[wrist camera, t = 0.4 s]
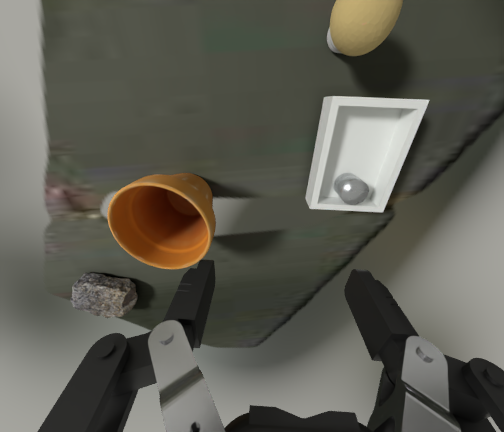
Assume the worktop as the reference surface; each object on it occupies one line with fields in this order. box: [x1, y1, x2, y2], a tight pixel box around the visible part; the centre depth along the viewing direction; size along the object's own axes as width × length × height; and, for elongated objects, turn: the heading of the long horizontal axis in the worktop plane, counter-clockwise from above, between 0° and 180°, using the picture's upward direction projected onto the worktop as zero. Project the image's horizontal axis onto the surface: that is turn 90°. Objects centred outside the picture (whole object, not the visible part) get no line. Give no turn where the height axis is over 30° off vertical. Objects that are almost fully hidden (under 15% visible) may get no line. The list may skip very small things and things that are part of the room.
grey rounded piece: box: [333, 173, 369, 205], centre depth 32 cm, size 4×4×4 cm
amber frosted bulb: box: [327, 0, 403, 56], centre depth 22 cm, size 6×6×10 cm
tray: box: [305, 96, 429, 212], centre depth 31 cm, size 16×12×6 cm
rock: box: [70, 272, 138, 318], centre depth 50 cm, size 13×6×15 cm
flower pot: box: [108, 173, 216, 269], centre depth 33 cm, size 14×14×13 cm
